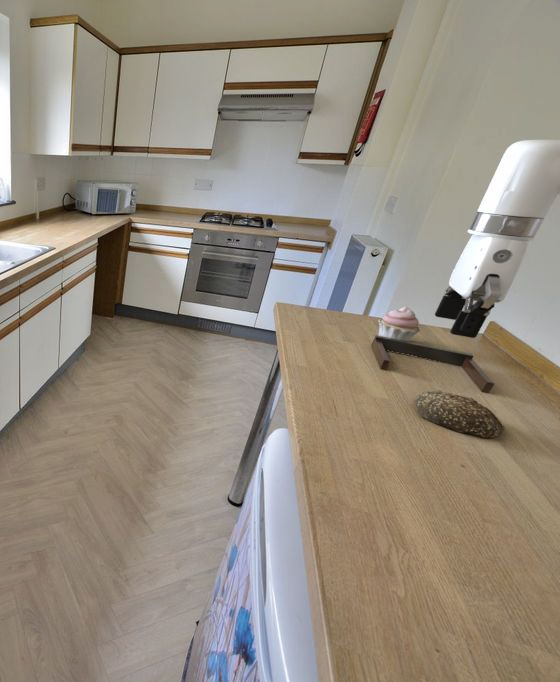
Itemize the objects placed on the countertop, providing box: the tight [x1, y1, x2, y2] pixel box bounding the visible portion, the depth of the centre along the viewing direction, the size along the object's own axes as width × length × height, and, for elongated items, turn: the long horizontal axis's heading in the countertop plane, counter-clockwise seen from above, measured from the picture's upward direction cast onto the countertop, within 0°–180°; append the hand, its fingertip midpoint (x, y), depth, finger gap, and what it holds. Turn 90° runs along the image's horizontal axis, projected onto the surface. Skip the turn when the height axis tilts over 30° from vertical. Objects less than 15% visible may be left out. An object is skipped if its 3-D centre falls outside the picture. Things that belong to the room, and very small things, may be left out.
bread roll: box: [415, 389, 505, 439], centre depth 78 cm, size 13×12×5 cm
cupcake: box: [377, 306, 421, 342], centre depth 111 cm, size 9×9×10 cm
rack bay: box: [371, 334, 495, 394], centre depth 98 cm, size 19×16×3 cm
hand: (453, 326), depth 72 cm, fingers open, 9 cm apart
